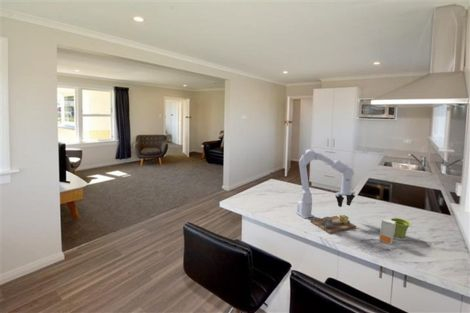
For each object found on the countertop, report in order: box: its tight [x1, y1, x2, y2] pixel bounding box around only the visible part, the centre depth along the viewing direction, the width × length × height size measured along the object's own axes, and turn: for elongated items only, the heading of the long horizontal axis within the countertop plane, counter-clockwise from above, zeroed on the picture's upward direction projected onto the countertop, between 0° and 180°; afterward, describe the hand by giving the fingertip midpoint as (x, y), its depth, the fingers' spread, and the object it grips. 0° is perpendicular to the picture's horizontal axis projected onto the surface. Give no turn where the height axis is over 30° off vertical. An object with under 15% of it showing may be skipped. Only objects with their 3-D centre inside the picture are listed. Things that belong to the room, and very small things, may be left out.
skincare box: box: [378, 218, 396, 245], centre depth 139 cm, size 6×4×12 cm
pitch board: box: [310, 215, 357, 234], centre depth 158 cm, size 16×21×7 cm
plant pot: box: [390, 217, 411, 239], centre depth 147 cm, size 9×9×9 cm
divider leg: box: [338, 214, 349, 225], centre depth 158 cm, size 5×3×5 cm, turn 24°
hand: (344, 205), depth 166 cm, fingers open, 7 cm apart
